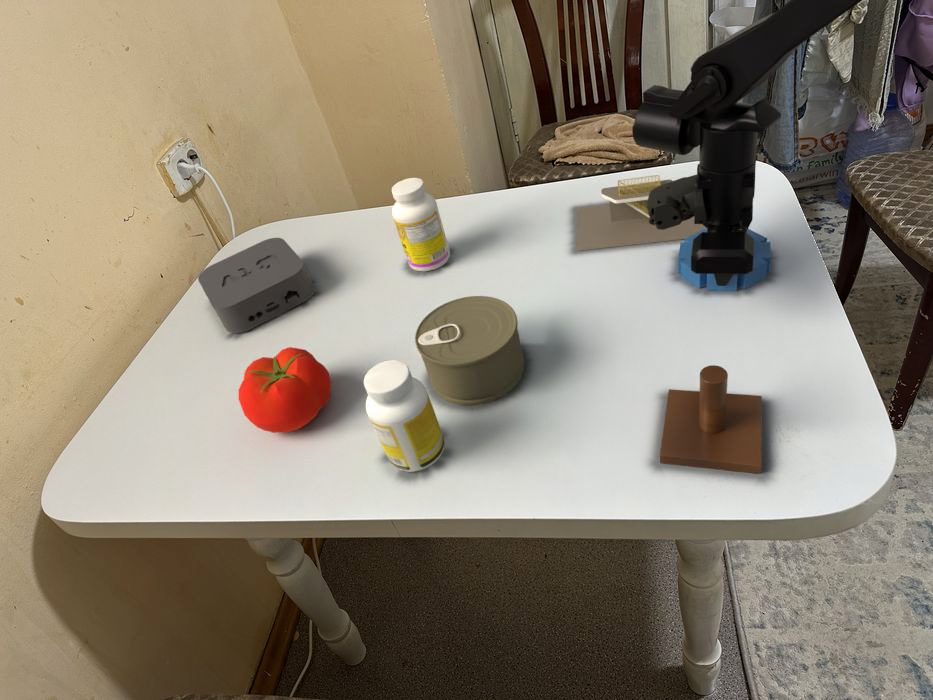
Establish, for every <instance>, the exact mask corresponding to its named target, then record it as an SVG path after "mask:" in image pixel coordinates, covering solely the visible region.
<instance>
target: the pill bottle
mask: <svg viewBox="0 0 933 700" xmlns="http://www.w3.org/2000/svg"><path fill="white" fill-rule="evenodd" d="M363 385H364V389H365V391H366V393H367V397H366V401H365V411H366V414H367V417H368V419H369V420H370V423H371V425H372V427H373V429H374V431H375V433H376V436H377V437H378V440H379V443H380V444H381V447H382V448H383V450H384V452H385V454H386V457H387V459H388V461H389V462H390V464H391V465H392V466H393V467H394V468H396V469H397V470H400V471H403V472H408V473H410V472H411V473H412V472H413V473H415V472H419V471H422V470H425V469H427V468H429V467H431V466H432V465H434V464H435V463H436V462H437V461H438V460H439V459H440V457H441V456H442V455H443V452H444V450H445V443H446V442H445V437H444V433H443V431H442V428H441V426H440V422H439V420H438V418H437V415H436V412H435V408H434V407H433V403H432V401H431V398H430V396H429V393H428V390H427V388H426V386H425V385H424V383H423V382H422V381H421V380H419V379H418V378H416V377H413V375H412V373H411V371H410V368H409V366H408V365H407V364H406V362H403V361H401V360H398V359H391V360H390V359H389V360H384V361H382V362H379V363H377V364H375V365H374V366H372V367H371V368H370V369H369V370H368V371H367V372H366V374H365V375H364V378H363Z"/></svg>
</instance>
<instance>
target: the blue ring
mask: <svg viewBox="0 0 933 700" xmlns="http://www.w3.org/2000/svg"><path fill="white" fill-rule="evenodd" d="M702 232H707V230H706V229H703V230H701V231H699V232H697V233H695V234H693V235H691V236H689V237H687V238H685V239H683V242H680V244H679V251H678V255H677V256H678V257H677V268H678V269H677V271H678V274H680V278H682V279H683V280H685V281H687V282H688V283H690V284H691V285H693V286H694V287H696V288H698V289H699V290H701V289H702V288H704V287H706V291H707V292H708V291H709V292H710V291H714V292H719V291H720V292H737V290H738V287H739V288H741V289H743V290H746V289H749V288H750V287H751V286H754V285H756V284H757V283H760V282H761V281H763V280H765V279H766V278H767V274H770V270H771V261H772V242H771V241H768V237H766V236H764V235H761V234H760V233H758V232H756V231H755V230H752V229H750V228H748V230H747V234H749V235H750V236H751V237H752V238H754V258H753V270H752V271H751V272H750V273H748V274H734V275H733V277H732V278H731V280H730V281H729V283H728V284H727V285H726V286H718V285H717V284H716V280H715V277H714V274H696V273H694V272H692V271H691V253H692V245H693V239H694V238H696V237H697V236H698V235H699V234H701V233H702Z"/></svg>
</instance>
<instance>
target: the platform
mask: <svg viewBox="0 0 933 700" xmlns="http://www.w3.org/2000/svg"><path fill="white" fill-rule="evenodd" d="M643 179H644V181H643ZM636 181H637V182H636ZM672 181H673V180H672V179H661V175H660V174H657V175H648V176H641V177H633V178H626V179H625V178H624V179H618V180H617V186H610V187H609V186H608V187H604V188H601V190H600V191H601V198H602V199H605V200H607V201H609V203H607V204H599V205H591V206H583V207H576V251H577V252H580V251H581V252H582V251H588V250H589V251H590V250H597V249H599V250H600V249H605V248H607V249H609V248H616V247H625V246H631V245H633V246H634V245H643V244H652V243H659V242H669V241H678V240H684V239H685V238H687V237H689V236H691V235H693V234H695V233H697V232H699V231H701V230H703V229H706V230H707V228H706V227H705V226H704V225H703V224H694V216H693V217H692V218H690V219H688V220H685V221H682V222H681V224H680V225H677V226H674V227H670V228H667V229H664V230H659V229H657V228H656V226H655V225H651V224H650V223H649V219H650V216H649V213H648V209H647V207H646V206H647V201H648V197H649V193H650V191H651V190H652V189H654V188H656V187H658V186H661V185H663V184H666V183H669V182H672ZM629 182H630V183H629Z"/></svg>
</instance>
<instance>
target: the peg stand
mask: <svg viewBox="0 0 933 700" xmlns="http://www.w3.org/2000/svg"><path fill="white" fill-rule="evenodd" d="M728 379H729V374H728V371H727V370H726V369H725V368H724V367H722V366H721V365H714V364H713V365H712V364H711V365H707V366H704V367H703V368H701V370H700V372H699V390H684V389H683V390H682V389H670V388H669V389H668V392H667V399H666V406H665V412H664V413H665V414H664V422H663V429H662V436H661V442H660V451H659V463H660V464H665V465H676V466H685V467H693V468H701V469H702V468H703V469H710V470H711V469H712V470H721V471H731V472H738V473H749V474H756V475H757V474H758V475H761V473H762V466H763V465H762V464H763V463H762V462H763V461H762V460H763V458H762V457H763V454H762V453H763V440H762V439H763V422H762V421H763V396H762V395H757V394H756V395H755V394H741V393H728V382H729V381H728Z"/></svg>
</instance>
